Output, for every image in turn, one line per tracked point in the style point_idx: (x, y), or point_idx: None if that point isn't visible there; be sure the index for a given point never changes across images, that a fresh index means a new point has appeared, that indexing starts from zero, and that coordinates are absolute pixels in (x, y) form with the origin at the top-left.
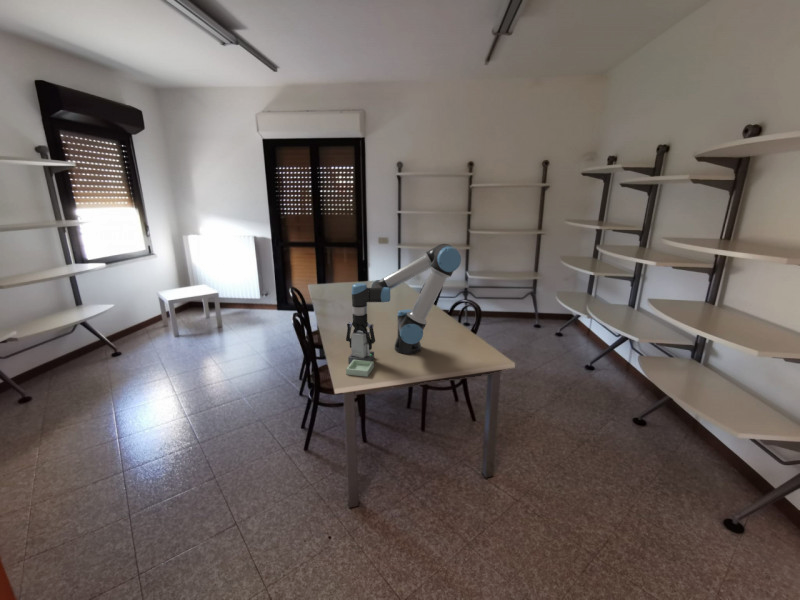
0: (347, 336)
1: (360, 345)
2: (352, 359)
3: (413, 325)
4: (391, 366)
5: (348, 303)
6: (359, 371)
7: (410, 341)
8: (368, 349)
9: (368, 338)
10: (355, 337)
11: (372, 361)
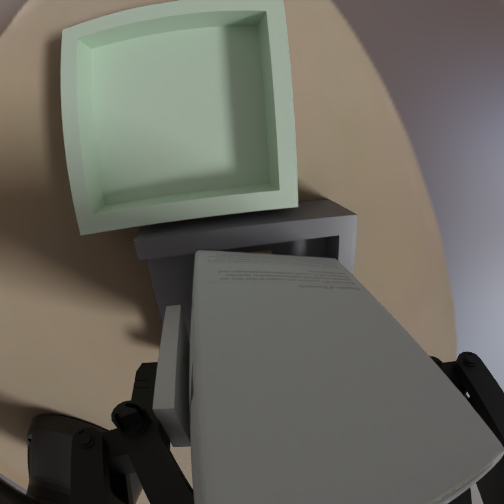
0: (493, 396)
1: (256, 346)
2: (310, 214)
3: None
4: (9, 270)
5: None
6: (139, 11)
7: None
8: (160, 355)
9: (149, 498)
10: (416, 445)
11: (90, 230)
